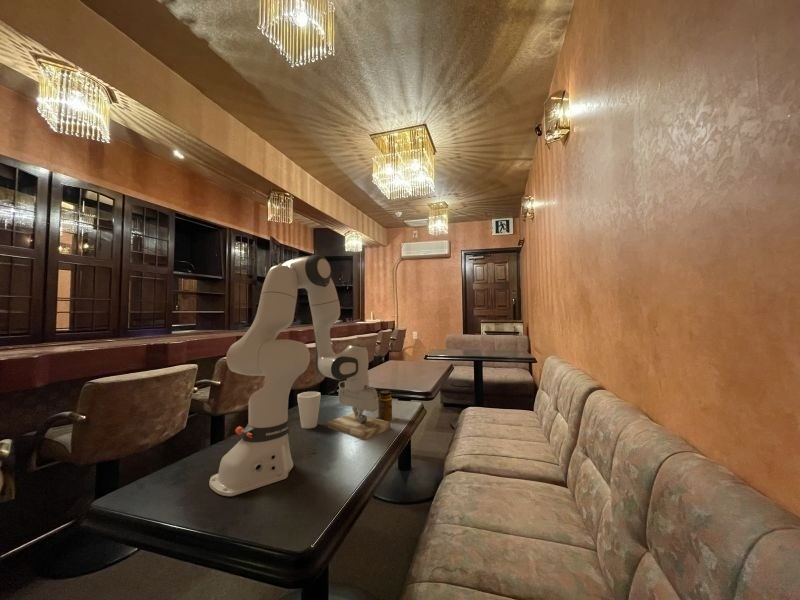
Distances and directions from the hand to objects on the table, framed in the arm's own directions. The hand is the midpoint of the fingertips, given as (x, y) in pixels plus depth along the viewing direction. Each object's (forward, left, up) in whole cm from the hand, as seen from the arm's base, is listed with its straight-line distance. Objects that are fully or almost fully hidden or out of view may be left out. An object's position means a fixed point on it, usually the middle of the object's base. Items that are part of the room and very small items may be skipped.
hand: (358, 418), depth 134 cm
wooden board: (0, -1, -4) cm, 4 cm away
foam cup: (-11, +18, -4) cm, 22 cm away
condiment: (+14, -1, -4) cm, 14 cm away
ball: (0, -3, 0) cm, 3 cm away
